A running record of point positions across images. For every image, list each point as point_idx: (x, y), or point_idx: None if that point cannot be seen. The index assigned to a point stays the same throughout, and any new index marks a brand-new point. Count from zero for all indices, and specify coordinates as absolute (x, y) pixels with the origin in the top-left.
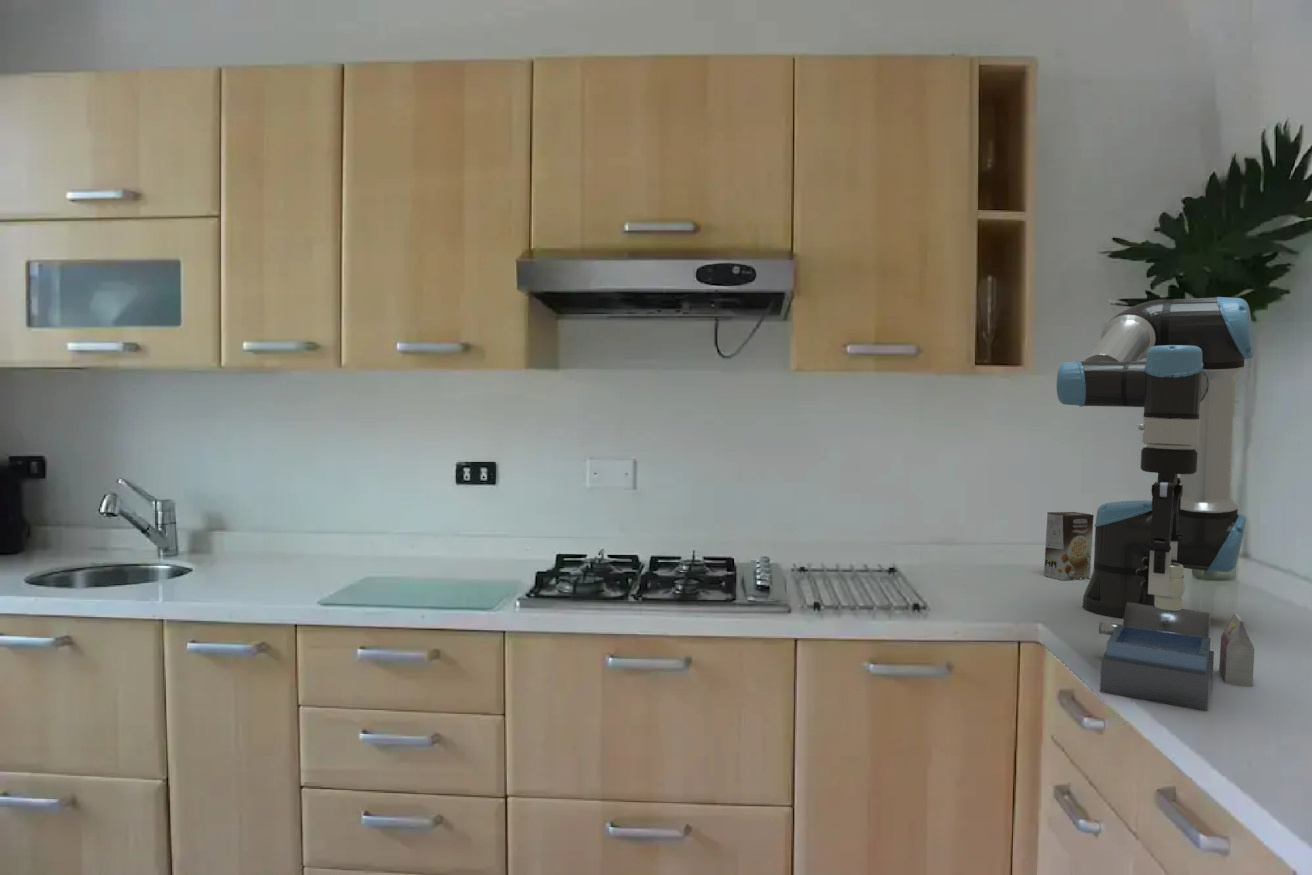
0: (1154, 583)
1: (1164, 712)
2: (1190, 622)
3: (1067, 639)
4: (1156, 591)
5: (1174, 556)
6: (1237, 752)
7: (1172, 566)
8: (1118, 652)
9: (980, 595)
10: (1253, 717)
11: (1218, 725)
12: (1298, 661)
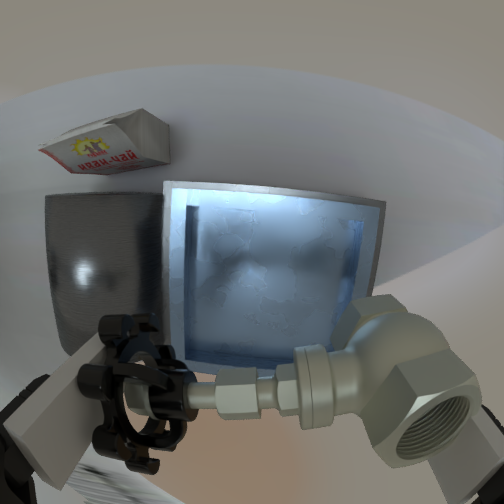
0: None
1: (399, 258)
2: (116, 235)
3: None
4: None
5: (67, 394)
6: (487, 187)
7: (480, 406)
8: None
9: None
10: (358, 137)
11: (419, 192)
12: (26, 96)
